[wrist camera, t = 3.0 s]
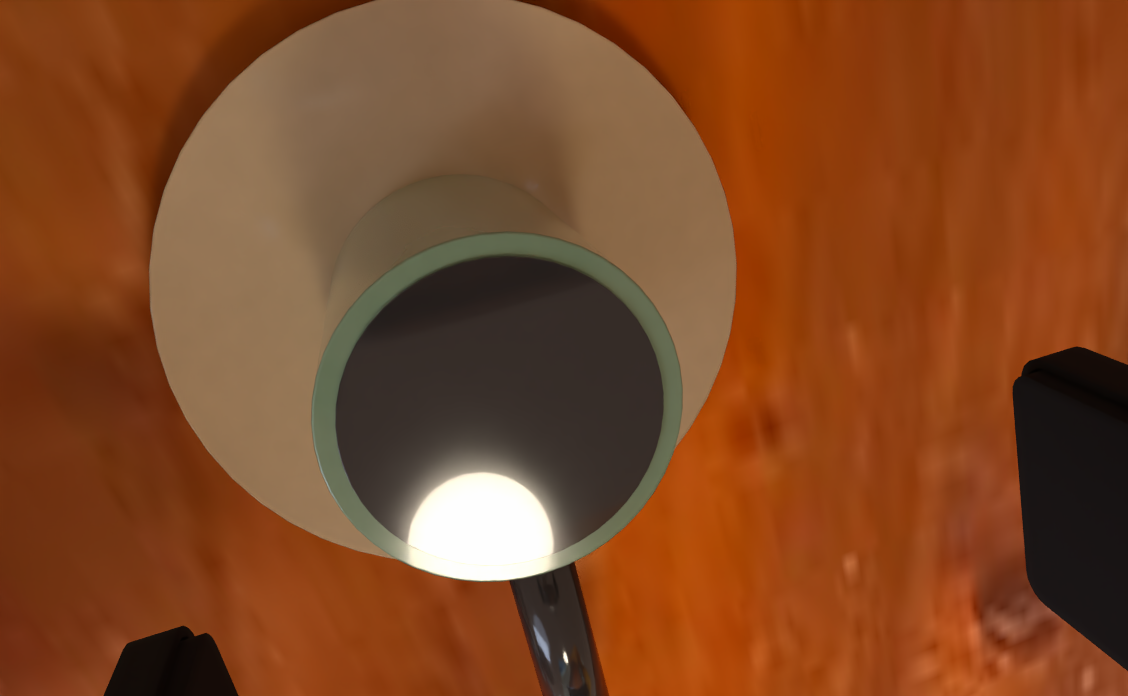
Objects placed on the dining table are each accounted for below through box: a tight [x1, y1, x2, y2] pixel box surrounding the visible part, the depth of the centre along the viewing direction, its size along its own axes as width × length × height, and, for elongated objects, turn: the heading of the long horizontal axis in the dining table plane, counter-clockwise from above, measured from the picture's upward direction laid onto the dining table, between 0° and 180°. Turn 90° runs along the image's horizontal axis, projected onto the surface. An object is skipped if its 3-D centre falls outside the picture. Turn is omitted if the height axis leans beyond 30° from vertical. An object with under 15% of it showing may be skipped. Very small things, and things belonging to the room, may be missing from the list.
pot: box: [149, 0, 737, 696], centre depth 21 cm, size 19×15×9 cm
